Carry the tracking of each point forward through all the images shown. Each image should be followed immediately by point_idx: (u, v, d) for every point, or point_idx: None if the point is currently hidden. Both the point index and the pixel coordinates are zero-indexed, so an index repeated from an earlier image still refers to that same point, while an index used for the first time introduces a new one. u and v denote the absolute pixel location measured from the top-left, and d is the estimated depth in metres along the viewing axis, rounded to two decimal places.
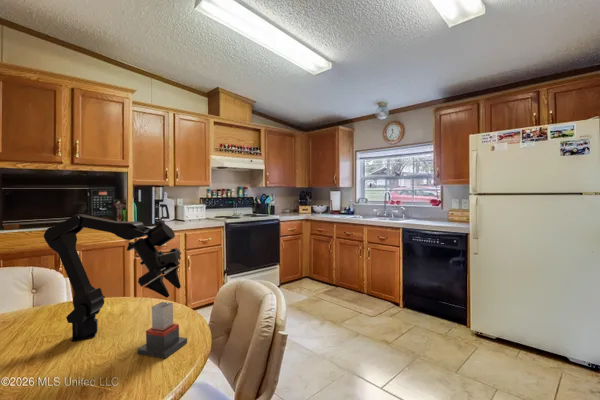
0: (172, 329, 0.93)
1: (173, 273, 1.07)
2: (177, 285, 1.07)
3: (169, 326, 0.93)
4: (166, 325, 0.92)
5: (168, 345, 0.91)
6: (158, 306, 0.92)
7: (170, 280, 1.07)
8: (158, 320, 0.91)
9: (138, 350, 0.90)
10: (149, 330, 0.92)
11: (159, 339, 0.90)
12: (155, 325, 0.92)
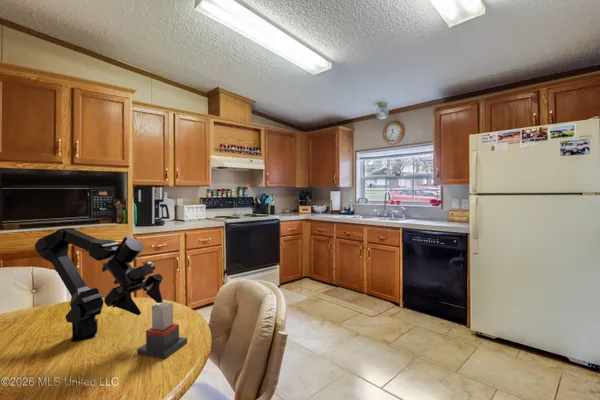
0: (172, 329, 0.93)
1: (154, 288, 1.00)
2: (159, 301, 0.99)
3: (169, 326, 0.93)
4: (166, 325, 0.92)
5: (168, 345, 0.91)
6: (158, 306, 0.92)
7: (152, 296, 1.00)
8: (158, 320, 0.91)
9: (138, 350, 0.90)
10: (149, 330, 0.92)
11: (159, 339, 0.90)
12: (155, 325, 0.92)
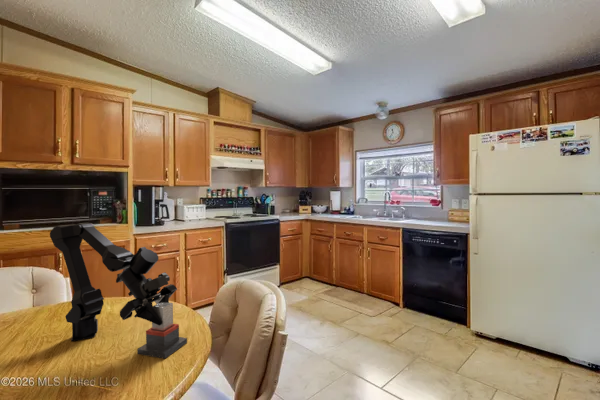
0: (172, 329, 0.93)
1: None
2: None
3: (169, 326, 0.93)
4: (166, 325, 0.92)
5: (168, 345, 0.91)
6: (158, 306, 0.92)
7: None
8: None
9: (138, 350, 0.90)
10: (149, 330, 0.92)
11: (159, 339, 0.90)
12: (155, 325, 0.92)
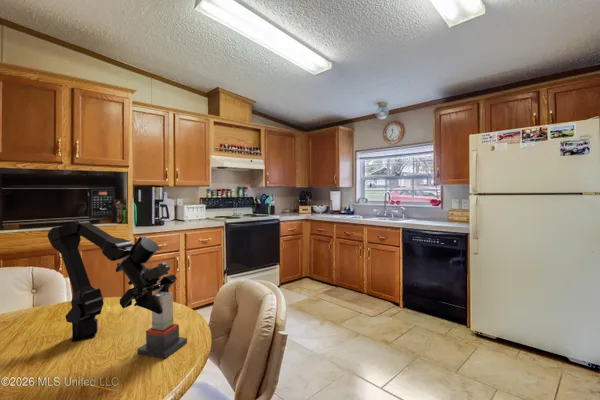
0: (172, 329, 0.93)
1: None
2: None
3: (169, 315, 0.93)
4: (165, 314, 0.92)
5: (168, 345, 0.91)
6: (158, 295, 0.92)
7: None
8: None
9: (138, 350, 0.90)
10: (149, 330, 0.92)
11: (159, 339, 0.90)
12: (155, 314, 0.92)
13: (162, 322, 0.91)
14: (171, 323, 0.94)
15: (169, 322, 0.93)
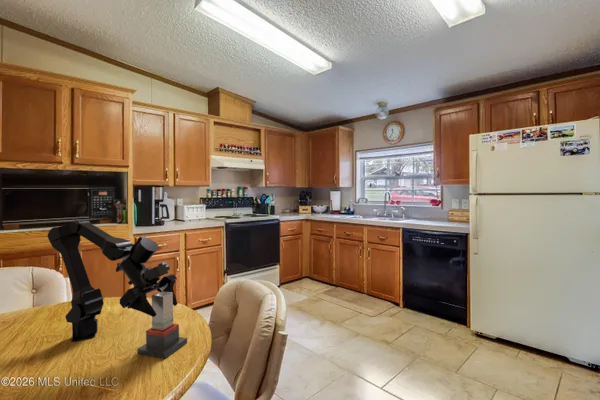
0: (172, 329, 0.93)
1: (168, 289, 0.99)
2: (173, 302, 0.98)
3: (169, 315, 0.93)
4: (165, 314, 0.92)
5: (168, 345, 0.91)
6: (158, 295, 0.92)
7: None
8: (158, 309, 0.91)
9: (138, 350, 0.90)
10: (149, 330, 0.92)
11: (159, 339, 0.90)
12: None
13: (162, 322, 0.91)
14: (171, 323, 0.94)
15: (169, 322, 0.93)
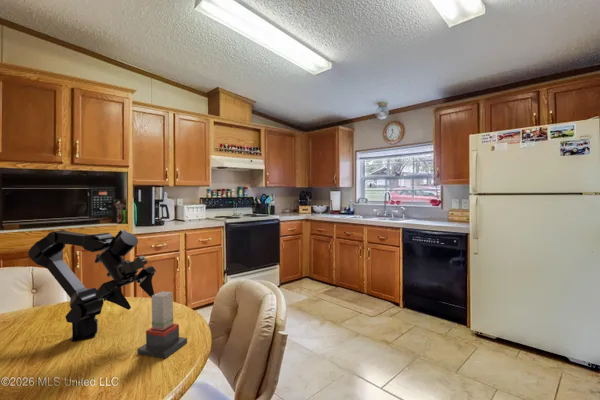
0: (172, 329, 0.93)
1: (146, 282, 1.02)
2: (150, 294, 1.01)
3: (169, 315, 0.93)
4: (165, 314, 0.92)
5: (168, 345, 0.91)
6: (158, 295, 0.92)
7: (145, 289, 1.02)
8: (158, 309, 0.91)
9: (138, 350, 0.90)
10: (149, 330, 0.92)
11: (159, 339, 0.90)
12: (155, 314, 0.92)
13: (162, 322, 0.91)
14: (171, 323, 0.94)
15: (169, 322, 0.93)
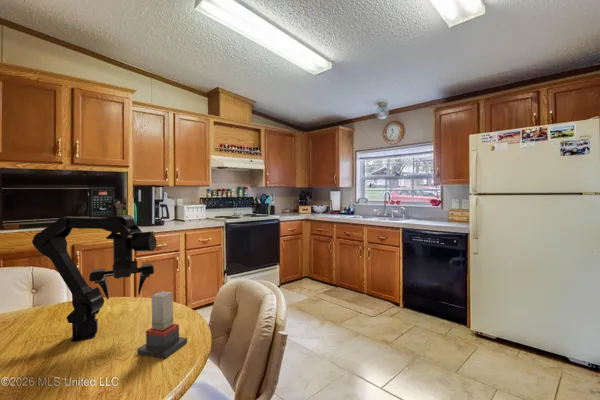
0: (172, 329, 0.93)
1: None
2: (138, 291, 1.05)
3: (169, 315, 0.93)
4: (165, 314, 0.92)
5: (168, 345, 0.91)
6: (158, 295, 0.92)
7: (139, 282, 1.07)
8: (158, 309, 0.91)
9: (138, 350, 0.90)
10: (149, 330, 0.92)
11: (159, 339, 0.90)
12: (155, 314, 0.92)
13: (162, 322, 0.91)
14: (171, 323, 0.94)
15: (169, 322, 0.93)
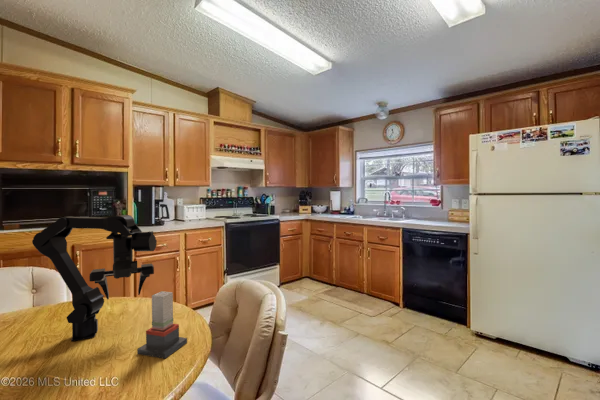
0: (172, 329, 0.93)
1: None
2: (138, 291, 1.05)
3: (169, 315, 0.93)
4: (165, 314, 0.92)
5: (168, 345, 0.91)
6: (158, 295, 0.92)
7: (139, 282, 1.07)
8: (158, 309, 0.91)
9: (138, 350, 0.90)
10: (149, 330, 0.92)
11: (159, 339, 0.90)
12: (155, 314, 0.92)
13: (162, 322, 0.91)
14: (171, 323, 0.94)
15: (169, 322, 0.93)
